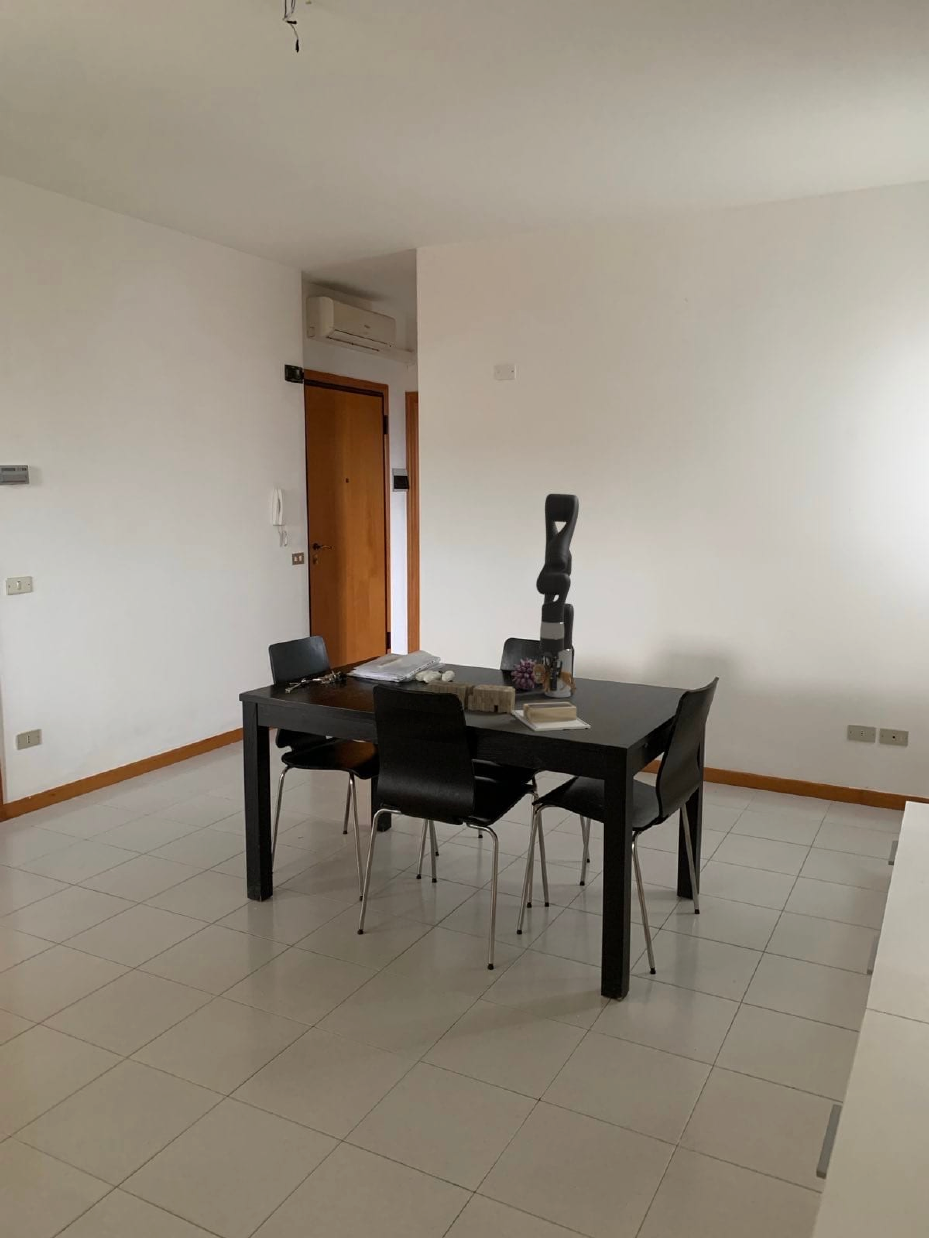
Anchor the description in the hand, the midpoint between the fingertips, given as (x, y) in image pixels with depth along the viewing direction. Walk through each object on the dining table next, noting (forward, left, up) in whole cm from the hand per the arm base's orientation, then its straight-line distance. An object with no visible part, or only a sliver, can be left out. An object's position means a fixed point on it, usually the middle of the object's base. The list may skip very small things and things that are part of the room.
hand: (550, 688), depth 288 cm
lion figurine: (+1, +1, -1) cm, 1 cm away
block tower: (-22, -20, -11) cm, 32 cm away
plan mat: (0, 0, -10) cm, 10 cm away
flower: (-46, +8, -10) cm, 48 cm away
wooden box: (0, 0, -10) cm, 10 cm away
